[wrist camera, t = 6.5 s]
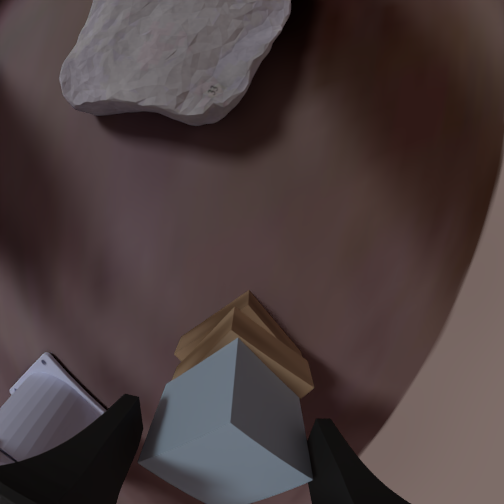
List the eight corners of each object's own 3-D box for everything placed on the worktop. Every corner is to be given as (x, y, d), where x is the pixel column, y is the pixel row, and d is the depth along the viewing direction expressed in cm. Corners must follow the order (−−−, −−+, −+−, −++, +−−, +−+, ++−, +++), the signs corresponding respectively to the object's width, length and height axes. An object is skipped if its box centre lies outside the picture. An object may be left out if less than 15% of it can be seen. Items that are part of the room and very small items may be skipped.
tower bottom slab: (235, 385, 19) (233, 409, 17) (182, 333, 18) (173, 354, 16) (299, 347, 18) (305, 369, 16) (249, 287, 17) (248, 304, 15)
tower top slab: (246, 411, 17) (245, 439, 14) (177, 366, 16) (167, 392, 14) (307, 361, 16) (314, 387, 13) (234, 306, 15) (231, 329, 13)
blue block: (228, 434, 14) (221, 511, 9) (166, 384, 13) (137, 462, 9) (299, 397, 14) (313, 479, 9) (237, 337, 13) (230, 422, 8)
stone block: (290, -20, 13) (140, -48, 11) (316, -56, 9) (129, -88, 6) (239, 144, 17) (76, 113, 14) (255, 145, 12) (39, 107, 10)
